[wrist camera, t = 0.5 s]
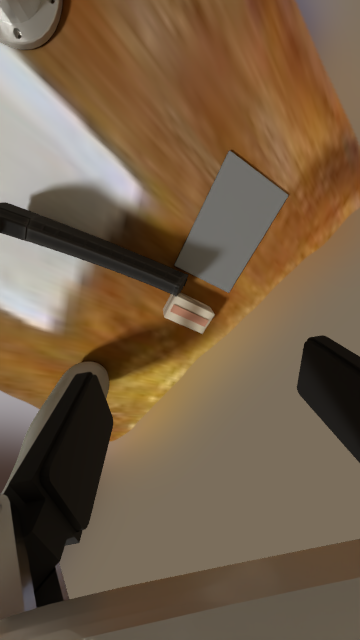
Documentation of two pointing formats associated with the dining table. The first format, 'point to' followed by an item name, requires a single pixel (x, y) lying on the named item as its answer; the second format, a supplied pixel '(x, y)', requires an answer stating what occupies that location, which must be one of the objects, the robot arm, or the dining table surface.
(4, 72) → the dining table surface
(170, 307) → the card box
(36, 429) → the glass bottle
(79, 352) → the dining table surface
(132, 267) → the magazine
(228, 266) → the mat
